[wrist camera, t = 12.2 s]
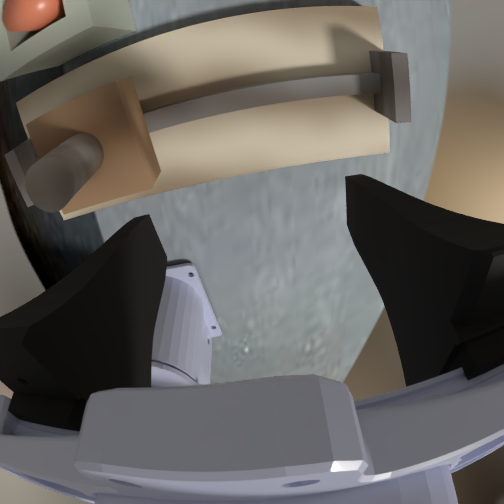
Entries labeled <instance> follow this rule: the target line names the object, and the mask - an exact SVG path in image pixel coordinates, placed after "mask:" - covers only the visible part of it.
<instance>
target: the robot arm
mask: <svg viewBox="0 0 504 504" xmlns="http://www.w3.org/2000/svg"><path fill="white" fill-rule="evenodd" d="M345 181H346V206H347V226H348V229H349V232H350V234H351V237H352V240H353V242H354V245H355V247H356V249H357V251H358V253H359V255H360V256H361V258H362V260H363V262H364V264H365V266H366V268H367V270H368V271H369V273H370V275H371V277H372V279H373V281H374V283H375V285H376V287H377V289H378V291H379V293H380V295H381V298H382V300H383V303H384V306H385V308H386V311H387V314H388V317H389V320H390V323H391V326H392V330H393V333H394V336H395V340H396V343H397V347H398V351H399V355H400V359H401V363H402V368H403V372H404V378H405V382H406V387H404V388H401V389H398V390H394V391H391V392H388V393H384V394H380V395H376V396H373V397H369V398H365V399H361V400H357V401H354V400H353V397H352V395H351V393H350V391H349V389H348V387H347V385H346V384H344V383H341V382H339V381H336V380H332V379H328V378H324V377H321V376H317V375H313V374H312V375H292V376H273V377H266V378H259V379H251V380H243V381H235V382H225V383H215V384H210V374H211V349H212V337H218V336H220V335H221V329H220V326H219V324H218V322H217V319H216V317H215V314H214V312H213V310H212V307H211V305H210V302H209V300H208V297H207V295H206V292H205V290H204V287H203V285H202V282H201V280H200V277H199V275H198V272H197V270H196V267H195V265H194V264H192V263H184V264H179V265H173V266H168V267H167V256H166V253H165V251H164V249H163V246H162V244H161V242H160V239H159V237H158V235H157V232H156V230H155V227H154V225H153V223H152V220H151V218H150V215H149V214H148V215H144V216H140V217H135V218H133V219H132V220H130V221H129V222H128V223H126V224H125V225H124V226H123V227H121V228H120V229H119V230H118V231H117V232H116V233H115V234H114V235H112V236H111V237H110V238H109V239H108V240H107V241H106V242H105V243H104V244H103V245H102V246H101V247H99V248H98V249H97V250H96V251H95V252H94V253H93V254H92V255H90V256H89V257H88V258H87V259H86V260H85V261H84V262H83V263H81V264H80V265H79V266H78V267H77V268H76V269H74V270H73V271H72V272H71V273H69V274H68V275H67V276H65V277H64V278H63V279H62V280H60V281H59V282H58V283H56V284H55V285H53V286H52V287H50V288H49V289H47V290H46V291H45V292H43V293H42V294H40V295H39V296H37V297H36V298H34V299H32V300H31V301H29V302H27V303H26V304H24V305H22V306H21V307H19V308H17V309H15V310H13V311H12V312H9V313H8V314H5V315H3V316H1V317H0V380H1V381H2V382H3V383H4V384H5V385H6V386H7V387H8V388H9V389H11V390H12V391H13V392H14V393H13V396H12V399H10V398H8V397H6V396H4V395H0V468H2V469H4V470H6V471H8V472H9V473H11V474H13V475H15V476H17V477H19V478H21V479H24V480H26V481H29V482H32V483H34V484H36V485H39V486H41V487H44V488H47V489H49V490H52V491H55V492H58V493H61V494H64V495H67V496H70V497H73V498H76V499H79V500H83V501H86V502H90V503H93V504H458V501H457V497H456V492H455V488H454V484H453V480H452V476H451V473H453V472H455V471H457V470H459V469H461V468H463V467H465V466H467V465H469V464H471V463H473V462H475V461H477V460H478V459H480V458H482V457H484V456H486V455H488V454H489V453H491V452H493V451H494V450H496V449H498V448H499V447H501V446H503V445H504V224H501V223H496V222H491V221H486V220H482V219H478V218H474V217H470V216H466V215H463V214H459V213H456V212H452V211H449V210H446V209H444V208H441V207H438V206H435V205H432V204H430V203H427V202H425V201H422V200H420V199H418V198H415V197H413V196H410V195H408V194H406V193H404V192H402V191H399V190H397V189H395V188H393V187H391V186H389V185H386V184H384V183H382V182H380V181H378V180H376V179H373V178H371V177H368V176H366V175H362V174H359V175H352V176H345ZM190 272H192V273H193V274H190Z"/></svg>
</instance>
